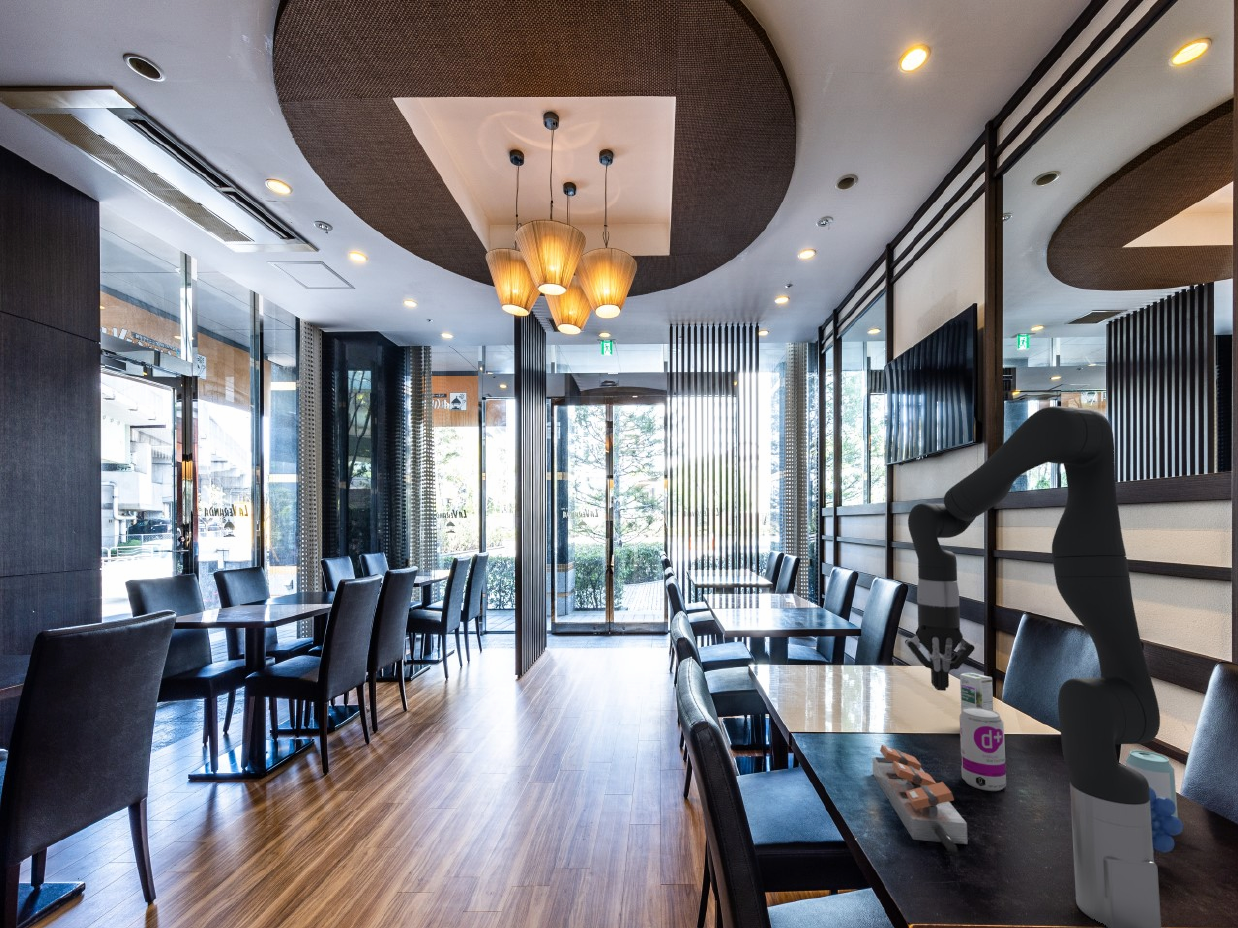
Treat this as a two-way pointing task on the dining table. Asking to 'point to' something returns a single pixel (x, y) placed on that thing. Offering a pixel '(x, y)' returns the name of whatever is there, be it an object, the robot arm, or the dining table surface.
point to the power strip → (920, 810)
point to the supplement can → (982, 748)
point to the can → (1155, 773)
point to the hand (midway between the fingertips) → (940, 689)
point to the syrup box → (976, 691)
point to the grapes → (1163, 822)
